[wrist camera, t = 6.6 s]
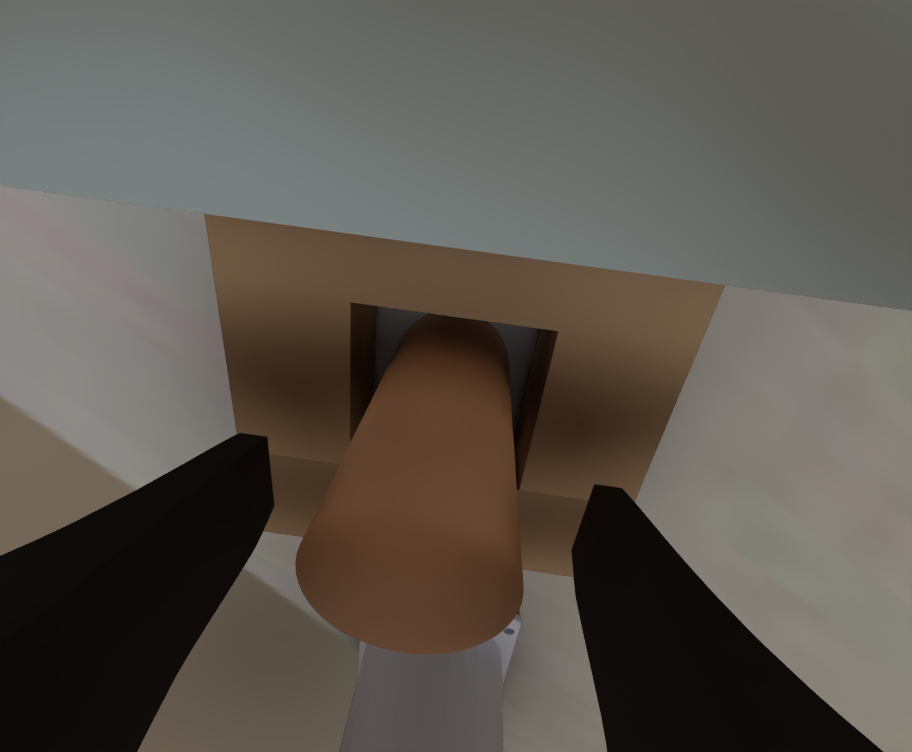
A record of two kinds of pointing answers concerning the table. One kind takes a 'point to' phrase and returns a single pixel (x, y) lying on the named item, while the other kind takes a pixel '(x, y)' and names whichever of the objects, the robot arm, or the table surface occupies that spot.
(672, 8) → the socket block
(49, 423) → the table surface
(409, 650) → the peg
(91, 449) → the table surface
